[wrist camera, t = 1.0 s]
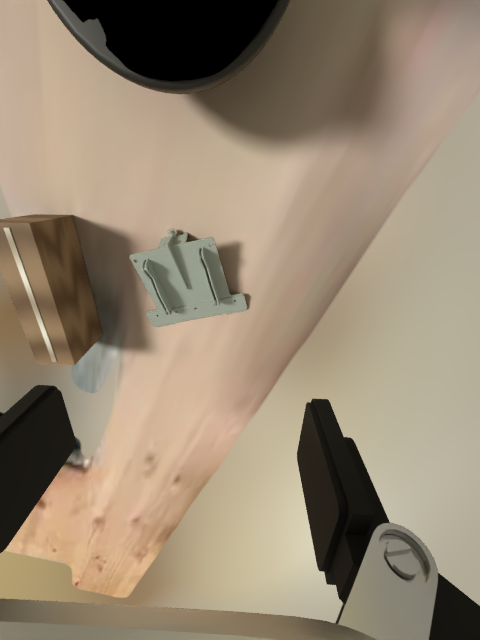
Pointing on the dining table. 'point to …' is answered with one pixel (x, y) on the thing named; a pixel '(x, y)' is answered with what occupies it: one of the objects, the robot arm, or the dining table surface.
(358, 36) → the dining table surface
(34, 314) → the block
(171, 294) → the metal bracket
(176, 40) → the bowl of black rocks
